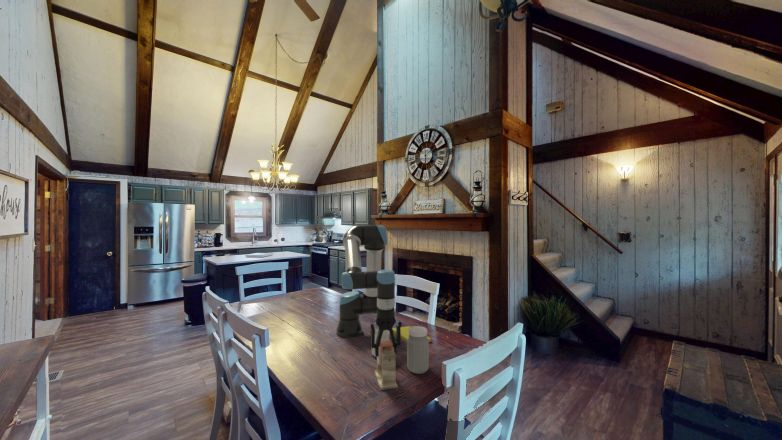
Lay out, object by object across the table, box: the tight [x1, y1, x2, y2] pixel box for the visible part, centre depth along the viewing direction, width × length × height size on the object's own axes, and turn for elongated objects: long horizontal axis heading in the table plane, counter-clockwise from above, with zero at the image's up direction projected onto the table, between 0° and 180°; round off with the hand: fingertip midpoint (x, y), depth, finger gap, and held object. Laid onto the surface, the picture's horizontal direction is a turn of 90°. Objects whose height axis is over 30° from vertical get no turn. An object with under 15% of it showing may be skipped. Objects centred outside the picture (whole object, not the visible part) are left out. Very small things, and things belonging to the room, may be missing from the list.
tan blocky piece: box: [374, 346, 399, 391], centre depth 122 cm, size 14×7×14 cm, turn 13°
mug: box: [371, 328, 390, 358], centre depth 146 cm, size 12×9×11 cm
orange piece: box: [379, 339, 393, 366], centre depth 122 cm, size 5×4×9 cm
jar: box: [406, 325, 430, 375], centre depth 131 cm, size 10×10×18 cm
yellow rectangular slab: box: [392, 325, 432, 343], centre depth 168 cm, size 12×2×24 cm
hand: (385, 362), depth 122 cm, fingers closed on orange piece, 5 cm apart
